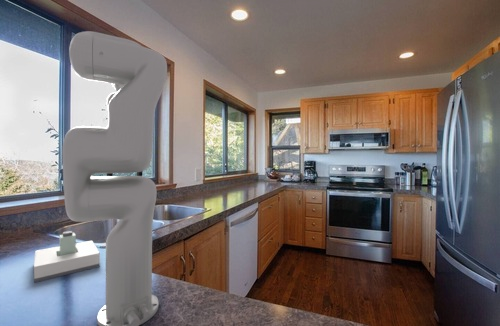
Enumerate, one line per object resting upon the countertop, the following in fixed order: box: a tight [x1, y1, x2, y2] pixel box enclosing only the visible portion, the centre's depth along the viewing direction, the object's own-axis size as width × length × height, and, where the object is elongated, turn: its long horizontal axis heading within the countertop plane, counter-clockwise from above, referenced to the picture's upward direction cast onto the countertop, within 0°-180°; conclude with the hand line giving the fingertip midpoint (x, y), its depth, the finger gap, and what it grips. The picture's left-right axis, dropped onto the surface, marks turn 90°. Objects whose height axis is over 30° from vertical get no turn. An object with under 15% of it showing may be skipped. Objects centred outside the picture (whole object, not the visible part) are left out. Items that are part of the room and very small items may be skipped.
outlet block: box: [33, 240, 101, 283], centre depth 79 cm, size 16×16×4 cm
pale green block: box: [59, 230, 77, 256], centre depth 79 cm, size 4×4×10 cm
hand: (125, 178), depth 88 cm, fingers open, 9 cm apart
